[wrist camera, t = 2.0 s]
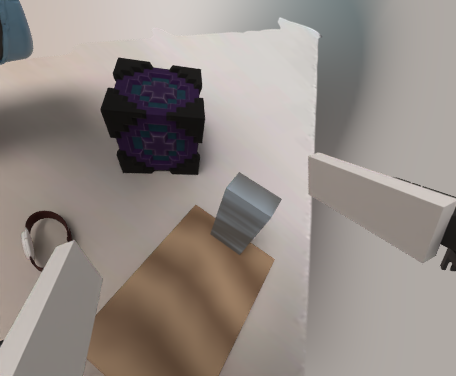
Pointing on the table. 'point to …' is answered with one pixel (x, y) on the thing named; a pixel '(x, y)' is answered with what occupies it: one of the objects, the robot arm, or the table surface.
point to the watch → (26, 234)
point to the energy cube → (155, 117)
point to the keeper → (188, 292)
